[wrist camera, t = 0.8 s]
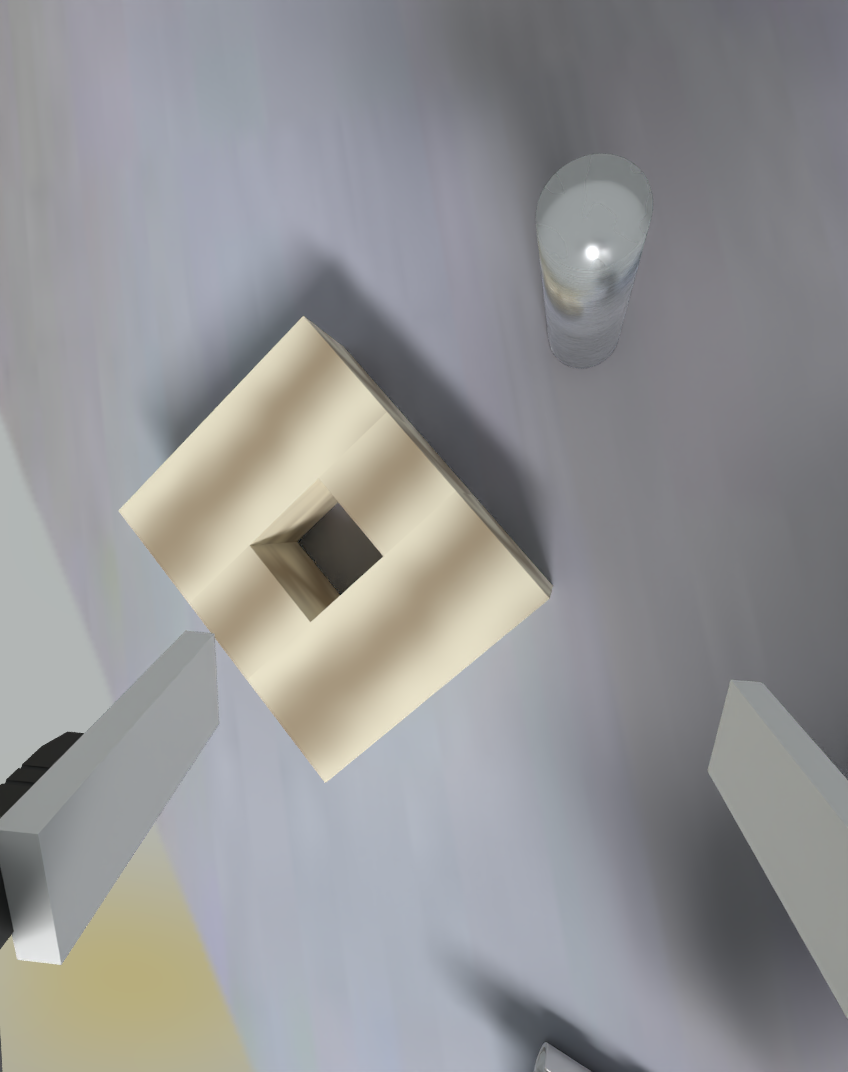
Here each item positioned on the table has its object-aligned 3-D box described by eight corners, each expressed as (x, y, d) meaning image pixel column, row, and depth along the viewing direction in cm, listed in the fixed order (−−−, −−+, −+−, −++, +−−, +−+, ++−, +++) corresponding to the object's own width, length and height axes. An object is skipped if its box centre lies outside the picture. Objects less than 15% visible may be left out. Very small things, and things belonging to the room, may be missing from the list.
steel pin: (634, 333, 34) (678, 206, 20) (579, 382, 35) (586, 292, 21) (587, 284, 34) (598, 129, 21) (534, 334, 35) (512, 215, 22)
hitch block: (552, 585, 35) (549, 598, 29) (362, 743, 38) (325, 783, 33) (344, 347, 38) (303, 315, 32) (182, 512, 41) (118, 510, 35)
